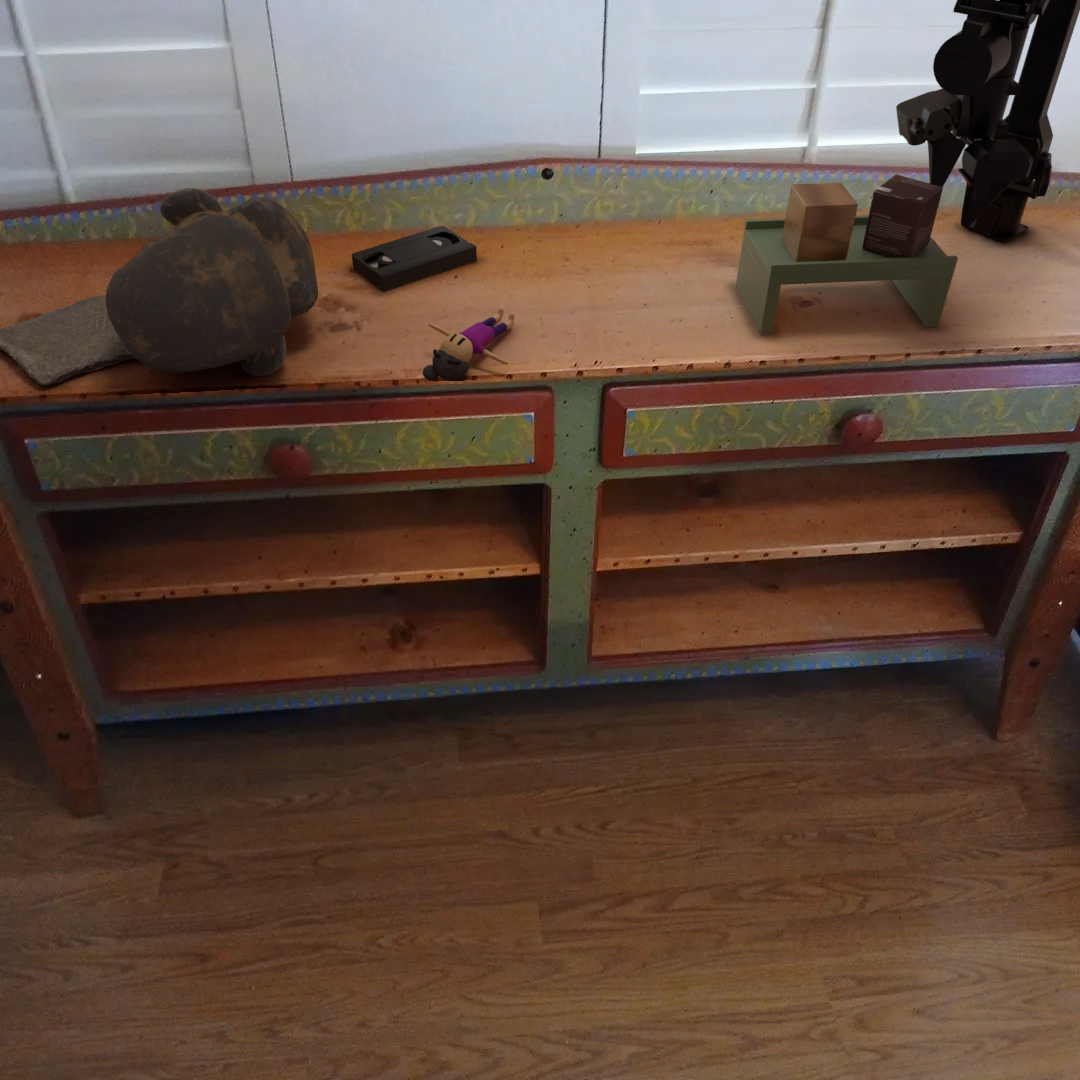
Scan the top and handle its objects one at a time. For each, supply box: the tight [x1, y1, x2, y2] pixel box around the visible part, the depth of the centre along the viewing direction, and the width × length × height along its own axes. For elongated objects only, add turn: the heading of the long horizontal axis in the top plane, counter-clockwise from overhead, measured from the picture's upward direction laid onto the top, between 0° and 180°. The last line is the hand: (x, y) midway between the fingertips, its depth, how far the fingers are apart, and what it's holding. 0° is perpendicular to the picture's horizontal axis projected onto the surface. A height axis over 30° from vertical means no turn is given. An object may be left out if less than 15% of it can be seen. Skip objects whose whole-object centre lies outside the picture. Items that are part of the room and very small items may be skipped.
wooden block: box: [782, 182, 859, 262], centre depth 123 cm, size 6×6×7 cm
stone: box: [0, 295, 136, 386], centre depth 122 cm, size 17×3×15 cm
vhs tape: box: [351, 225, 478, 292], centre depth 138 cm, size 14×8×2 cm, turn 128°
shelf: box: [735, 214, 959, 336], centre depth 129 cm, size 22×12×9 cm, turn 96°
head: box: [105, 187, 319, 377], centre depth 116 cm, size 21×23×25 cm
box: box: [862, 173, 944, 258], centre depth 124 cm, size 6×6×7 cm
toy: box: [422, 306, 516, 382], centre depth 122 cm, size 10×6×15 cm
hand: (949, 208), depth 124 cm, fingers open, 9 cm apart
